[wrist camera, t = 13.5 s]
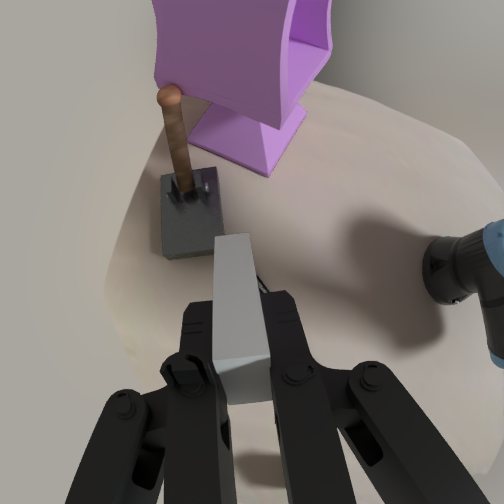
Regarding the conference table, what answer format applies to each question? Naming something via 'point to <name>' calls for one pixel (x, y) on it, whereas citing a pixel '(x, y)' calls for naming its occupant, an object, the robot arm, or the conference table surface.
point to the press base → (191, 215)
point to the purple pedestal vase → (243, 69)
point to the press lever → (176, 136)
